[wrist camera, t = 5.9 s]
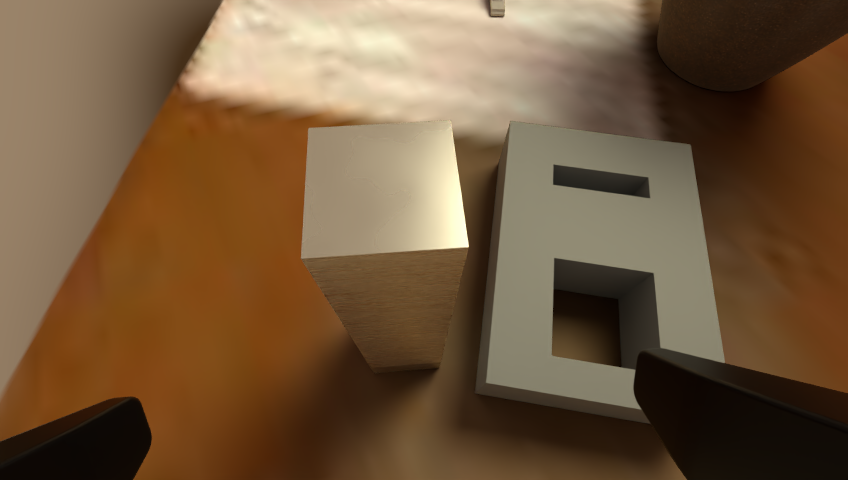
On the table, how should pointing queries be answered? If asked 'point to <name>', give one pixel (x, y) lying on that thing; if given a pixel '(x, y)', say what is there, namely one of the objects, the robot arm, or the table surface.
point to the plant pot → (744, 38)
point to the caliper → (497, 7)
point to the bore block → (592, 263)
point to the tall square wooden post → (387, 236)
